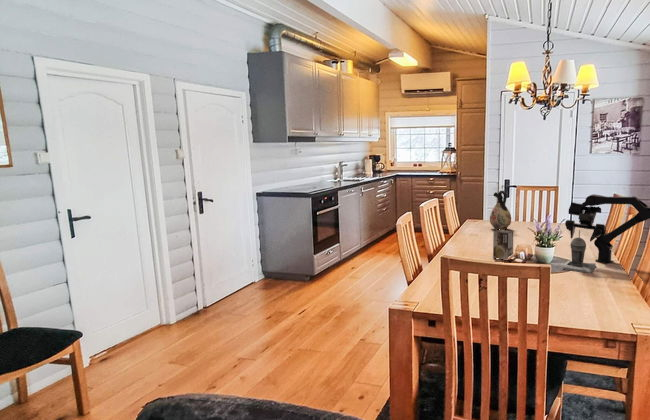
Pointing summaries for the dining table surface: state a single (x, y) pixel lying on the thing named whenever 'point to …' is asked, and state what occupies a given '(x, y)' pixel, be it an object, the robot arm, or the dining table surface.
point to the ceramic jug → (500, 212)
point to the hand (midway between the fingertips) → (580, 239)
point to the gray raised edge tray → (584, 267)
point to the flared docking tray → (578, 267)
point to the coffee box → (502, 244)
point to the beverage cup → (578, 251)
